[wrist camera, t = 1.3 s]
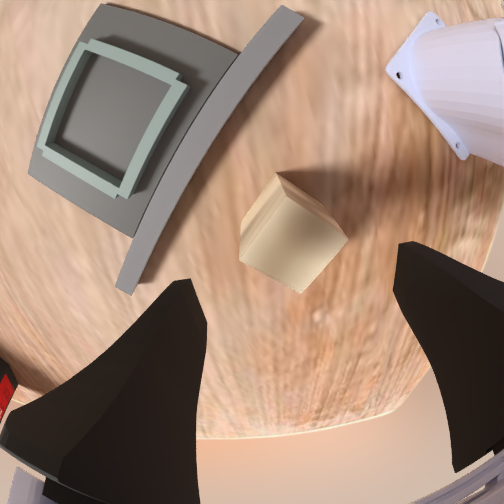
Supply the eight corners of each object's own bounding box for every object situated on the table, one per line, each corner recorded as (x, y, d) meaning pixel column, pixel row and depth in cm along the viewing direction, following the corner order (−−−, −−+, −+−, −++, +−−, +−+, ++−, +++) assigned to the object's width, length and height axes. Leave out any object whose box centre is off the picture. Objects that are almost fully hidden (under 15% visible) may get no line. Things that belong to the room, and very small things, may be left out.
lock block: (324, 205, 18) (348, 239, 13) (289, 250, 19) (300, 293, 15) (275, 172, 16) (286, 196, 12) (241, 221, 18) (238, 260, 14)
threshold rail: (299, 25, 12) (304, 17, 10) (137, 284, 20) (131, 295, 19) (279, 13, 11) (281, 4, 10) (121, 275, 20) (114, 286, 19)
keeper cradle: (238, 55, 13) (237, 50, 11) (134, 235, 18) (126, 245, 17) (103, 4, 10) (93, -1, 8) (30, 172, 15) (19, 177, 14)
